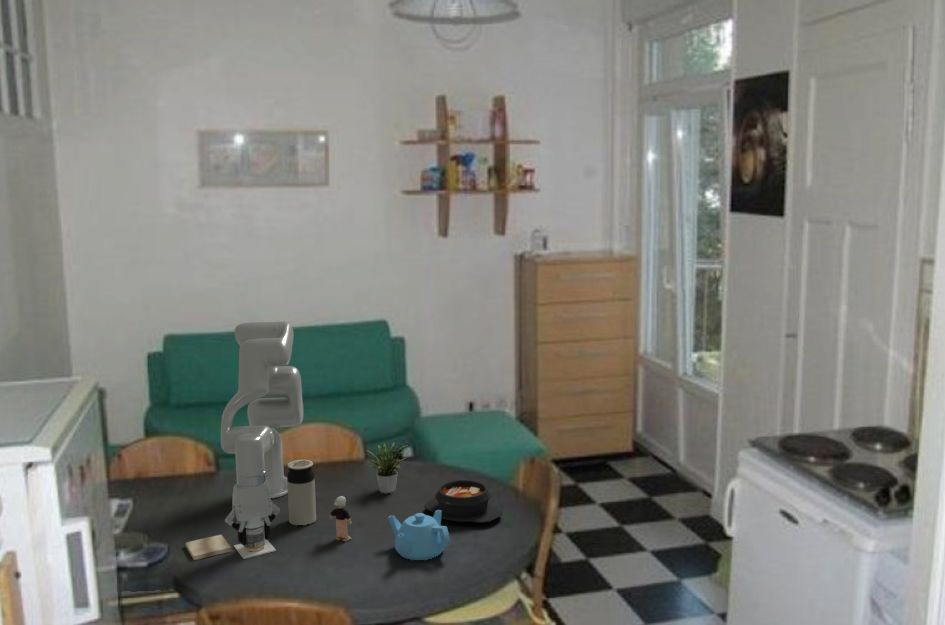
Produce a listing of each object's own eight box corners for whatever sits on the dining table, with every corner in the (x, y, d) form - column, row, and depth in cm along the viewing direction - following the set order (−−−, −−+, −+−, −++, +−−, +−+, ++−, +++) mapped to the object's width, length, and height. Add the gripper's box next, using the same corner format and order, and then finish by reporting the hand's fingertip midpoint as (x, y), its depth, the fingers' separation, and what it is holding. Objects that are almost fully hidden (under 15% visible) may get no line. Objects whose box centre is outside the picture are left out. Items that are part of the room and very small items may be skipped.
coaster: (221, 538, 239) (221, 534, 239) (231, 551, 231) (231, 547, 231) (185, 546, 234) (185, 542, 234) (194, 560, 226) (194, 556, 225)
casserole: (412, 516, 253) (411, 490, 252) (446, 496, 269) (446, 471, 267) (481, 535, 240) (481, 507, 239) (514, 513, 255) (514, 486, 254)
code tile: (265, 539, 238) (265, 537, 238) (275, 551, 231) (275, 549, 231) (234, 546, 234) (234, 545, 234) (243, 559, 226) (243, 557, 226)
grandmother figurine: (357, 537, 239) (355, 495, 237) (350, 543, 235) (349, 500, 233) (333, 534, 241) (331, 492, 239) (326, 539, 238) (324, 497, 236)
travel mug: (321, 518, 253) (319, 461, 250) (305, 528, 245) (303, 469, 243) (299, 514, 256) (297, 457, 253) (283, 523, 249) (280, 466, 246)
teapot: (396, 567, 221) (395, 528, 219) (388, 543, 235) (387, 506, 233) (452, 560, 224) (452, 522, 222) (441, 537, 239) (440, 501, 237)
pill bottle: (246, 543, 235) (244, 510, 233) (266, 542, 235) (265, 509, 233) (242, 552, 229) (240, 518, 227) (263, 551, 229) (261, 517, 228)
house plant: (421, 488, 276) (420, 441, 273) (395, 502, 264) (394, 453, 261) (387, 480, 283) (386, 434, 280) (361, 493, 272) (359, 445, 269)
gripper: (277, 468, 236) (280, 529, 239) (215, 480, 228) (219, 543, 230) (286, 476, 230) (288, 538, 233) (223, 489, 221) (227, 553, 224)
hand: (254, 540), depth 232 cm, fingers closed on pill bottle, 5 cm apart
